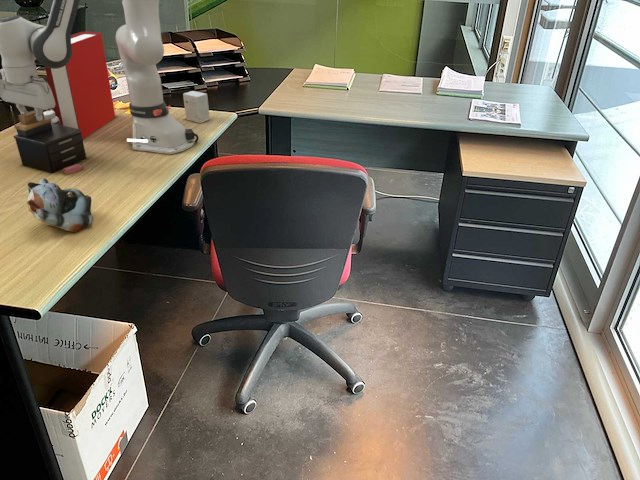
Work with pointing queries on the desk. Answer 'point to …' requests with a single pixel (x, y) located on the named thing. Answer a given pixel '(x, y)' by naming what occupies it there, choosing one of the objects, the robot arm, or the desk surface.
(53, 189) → the lucky cat figurine
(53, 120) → the pill bottle
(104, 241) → the desk surface
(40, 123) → the brush
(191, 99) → the small box
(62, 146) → the cabinet
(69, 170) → the eraser
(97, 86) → the book
